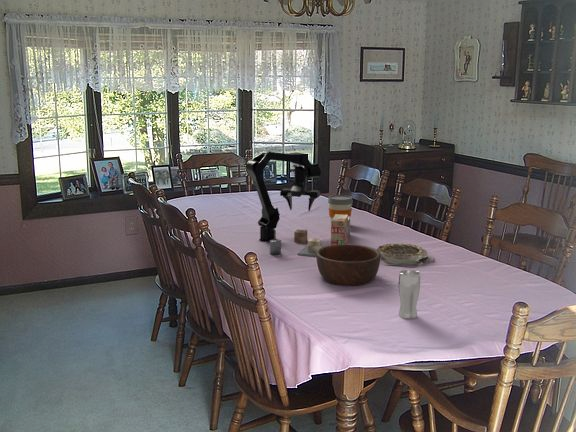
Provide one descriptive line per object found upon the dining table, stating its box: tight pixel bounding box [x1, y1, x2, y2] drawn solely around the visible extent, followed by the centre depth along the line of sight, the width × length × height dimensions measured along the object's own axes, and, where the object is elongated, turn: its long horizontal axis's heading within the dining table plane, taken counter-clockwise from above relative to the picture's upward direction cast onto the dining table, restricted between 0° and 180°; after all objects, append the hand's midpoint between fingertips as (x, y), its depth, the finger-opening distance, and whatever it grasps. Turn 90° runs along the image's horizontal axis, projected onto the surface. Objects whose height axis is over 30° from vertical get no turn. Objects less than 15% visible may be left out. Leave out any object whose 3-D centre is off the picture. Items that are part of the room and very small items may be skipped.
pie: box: [376, 242, 436, 268], centre depth 270 cm, size 28×27×5 cm
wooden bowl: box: [315, 243, 382, 287], centre depth 244 cm, size 25×25×10 cm
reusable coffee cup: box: [327, 194, 353, 221], centre depth 323 cm, size 13×13×15 cm
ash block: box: [307, 237, 323, 252], centre depth 277 cm, size 5×5×5 cm
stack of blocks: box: [330, 214, 351, 245], centre depth 297 cm, size 21×6×12 cm, turn 167°
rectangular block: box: [293, 229, 308, 244], centre depth 295 cm, size 5×5×5 cm
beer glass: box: [398, 269, 421, 320], centre depth 205 cm, size 7×7×15 cm
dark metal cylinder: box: [269, 238, 282, 256], centre depth 275 cm, size 5×5×6 cm
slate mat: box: [297, 245, 322, 258], centre depth 278 cm, size 12×12×1 cm
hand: (300, 210), depth 305 cm, fingers open, 9 cm apart
